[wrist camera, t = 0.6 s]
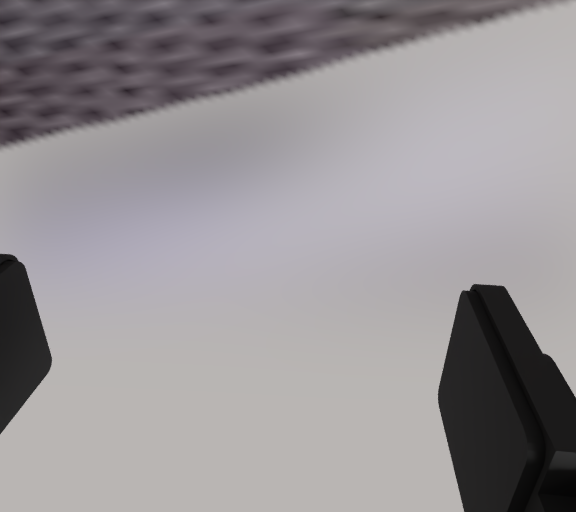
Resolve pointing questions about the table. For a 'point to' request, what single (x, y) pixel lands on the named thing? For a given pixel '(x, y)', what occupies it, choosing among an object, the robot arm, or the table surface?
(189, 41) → the table surface
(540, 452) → the robot arm
